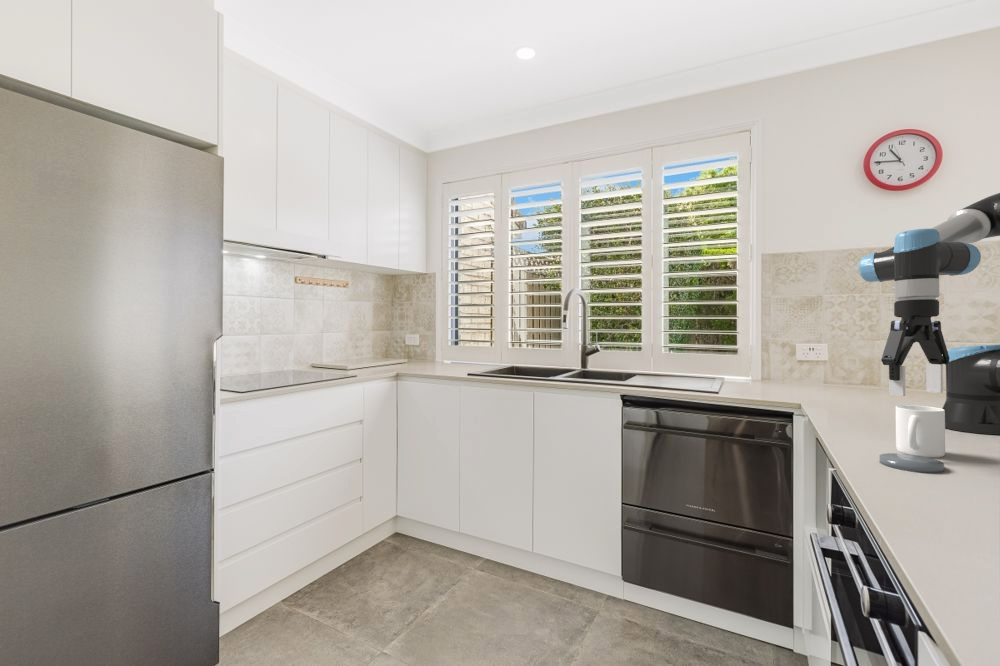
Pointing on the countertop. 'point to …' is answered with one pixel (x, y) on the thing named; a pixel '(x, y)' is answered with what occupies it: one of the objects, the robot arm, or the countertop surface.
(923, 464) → the slate plate
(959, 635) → the countertop surface
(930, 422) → the mug
